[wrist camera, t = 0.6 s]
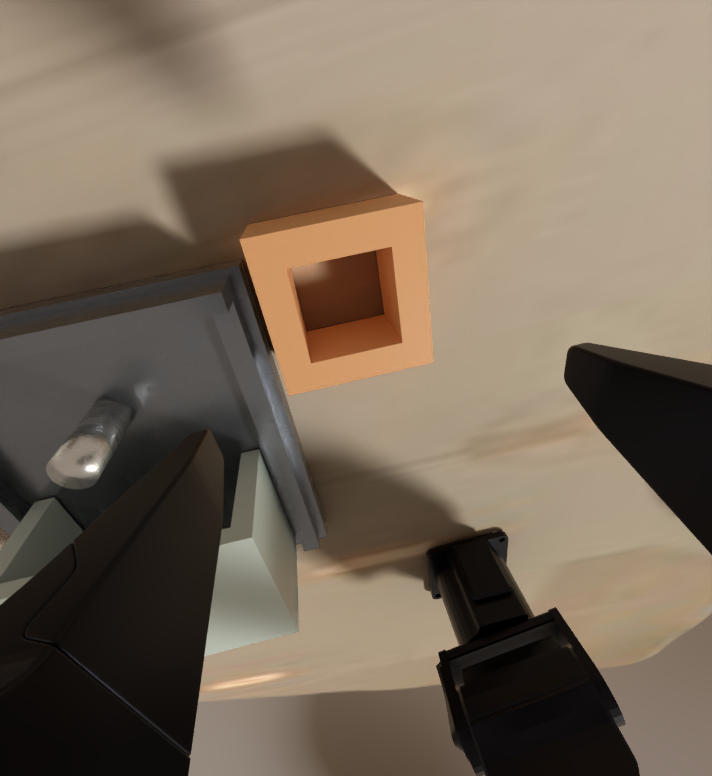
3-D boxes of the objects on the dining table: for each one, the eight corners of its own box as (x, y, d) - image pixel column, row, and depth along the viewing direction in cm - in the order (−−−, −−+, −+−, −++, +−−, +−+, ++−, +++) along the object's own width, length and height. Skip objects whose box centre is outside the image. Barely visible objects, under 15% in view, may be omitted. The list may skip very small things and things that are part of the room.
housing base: (325, 521, 26) (333, 594, 22) (93, 579, 26) (53, 666, 21) (241, 259, 17) (225, 294, 12) (-135, 338, 16) (-292, 405, 12)
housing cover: (296, 540, 25) (298, 631, 20) (111, 586, 24) (69, 691, 20) (259, 449, 21) (251, 537, 16) (35, 502, 20) (-44, 610, 15)
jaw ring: (411, 332, 20) (433, 362, 17) (288, 359, 20) (288, 395, 17) (398, 193, 17) (423, 201, 14) (247, 224, 16) (239, 239, 13)
